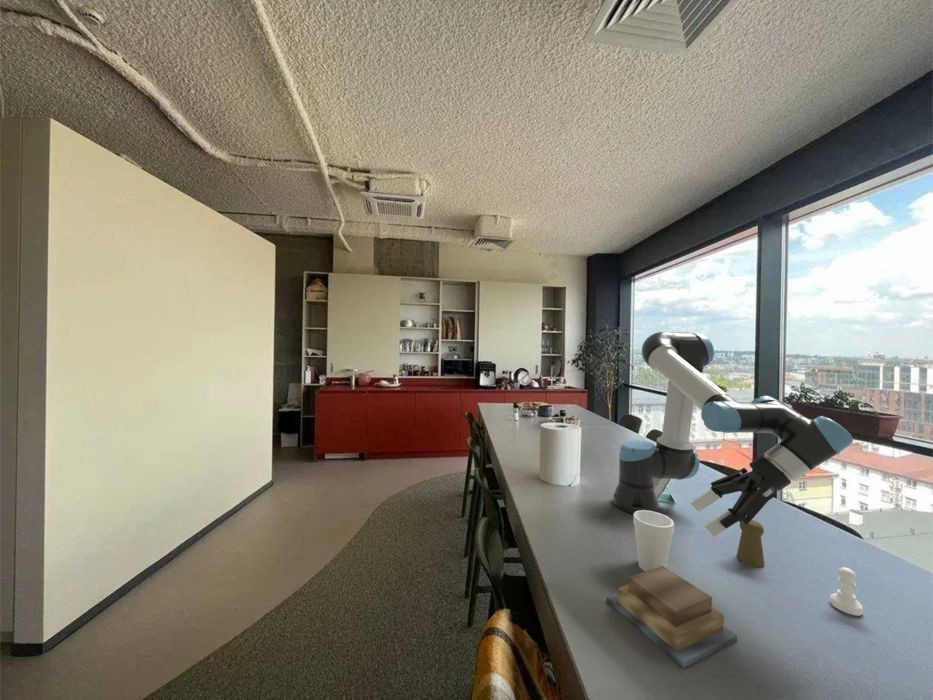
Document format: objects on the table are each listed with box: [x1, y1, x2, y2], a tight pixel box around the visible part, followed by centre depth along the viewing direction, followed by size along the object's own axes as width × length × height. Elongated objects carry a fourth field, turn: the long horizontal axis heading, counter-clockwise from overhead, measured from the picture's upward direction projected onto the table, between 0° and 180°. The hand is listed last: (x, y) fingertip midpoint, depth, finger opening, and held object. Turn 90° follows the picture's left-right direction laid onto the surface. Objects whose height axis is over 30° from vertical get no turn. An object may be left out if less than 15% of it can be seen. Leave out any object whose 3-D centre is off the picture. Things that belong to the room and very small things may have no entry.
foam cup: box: [632, 510, 675, 572], centre depth 93 cm, size 10×9×13 cm
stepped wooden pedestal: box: [606, 566, 738, 669], centre depth 75 cm, size 18×16×7 cm
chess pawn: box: [829, 566, 864, 617], centre depth 80 cm, size 5×5×9 cm
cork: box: [736, 519, 765, 568], centre depth 97 cm, size 6×6×11 cm
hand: (700, 518), depth 89 cm, fingers open, 13 cm apart
